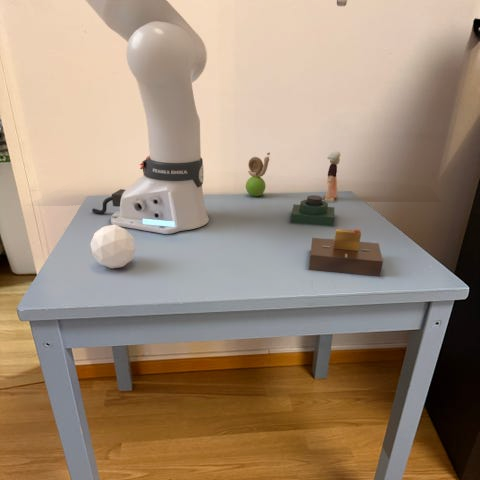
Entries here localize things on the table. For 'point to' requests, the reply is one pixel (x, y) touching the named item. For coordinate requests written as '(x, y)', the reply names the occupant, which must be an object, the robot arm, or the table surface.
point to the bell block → (313, 214)
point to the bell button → (314, 200)
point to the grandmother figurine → (332, 176)
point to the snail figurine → (256, 176)
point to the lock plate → (345, 258)
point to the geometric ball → (113, 246)
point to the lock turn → (347, 239)
